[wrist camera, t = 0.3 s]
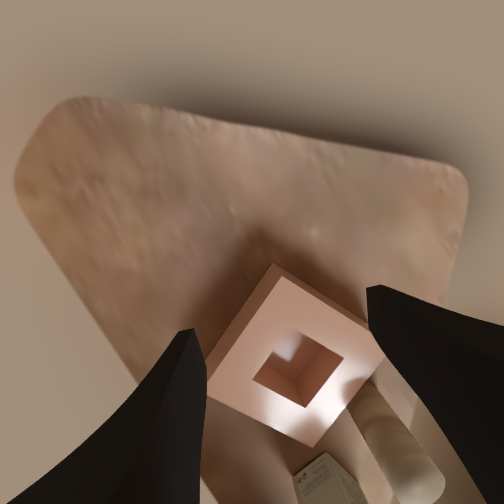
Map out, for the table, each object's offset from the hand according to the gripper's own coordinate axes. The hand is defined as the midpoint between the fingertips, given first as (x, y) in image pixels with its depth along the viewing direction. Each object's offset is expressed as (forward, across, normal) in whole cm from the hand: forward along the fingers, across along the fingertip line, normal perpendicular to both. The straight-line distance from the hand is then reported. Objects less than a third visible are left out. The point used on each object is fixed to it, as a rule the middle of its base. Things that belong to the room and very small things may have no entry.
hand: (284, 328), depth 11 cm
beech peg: (+9, -6, +16) cm, 19 cm away
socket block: (+9, -1, +9) cm, 13 cm away
